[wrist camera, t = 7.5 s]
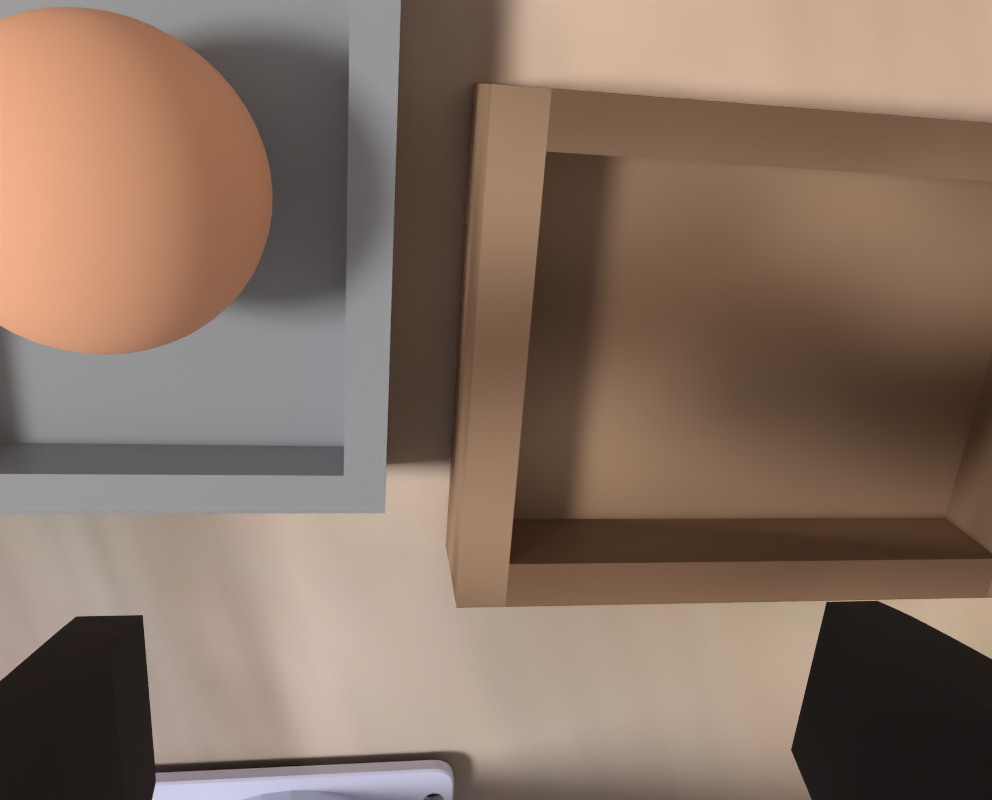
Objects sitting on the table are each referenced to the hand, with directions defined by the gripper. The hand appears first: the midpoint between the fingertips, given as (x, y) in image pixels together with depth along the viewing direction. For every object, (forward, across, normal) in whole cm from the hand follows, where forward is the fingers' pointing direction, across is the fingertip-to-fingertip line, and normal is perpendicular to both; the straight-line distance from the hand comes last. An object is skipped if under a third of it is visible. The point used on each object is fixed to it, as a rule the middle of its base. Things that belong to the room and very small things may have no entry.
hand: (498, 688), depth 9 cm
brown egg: (+9, +5, -4) cm, 11 cm away
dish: (+10, -7, -1) cm, 12 cm away
